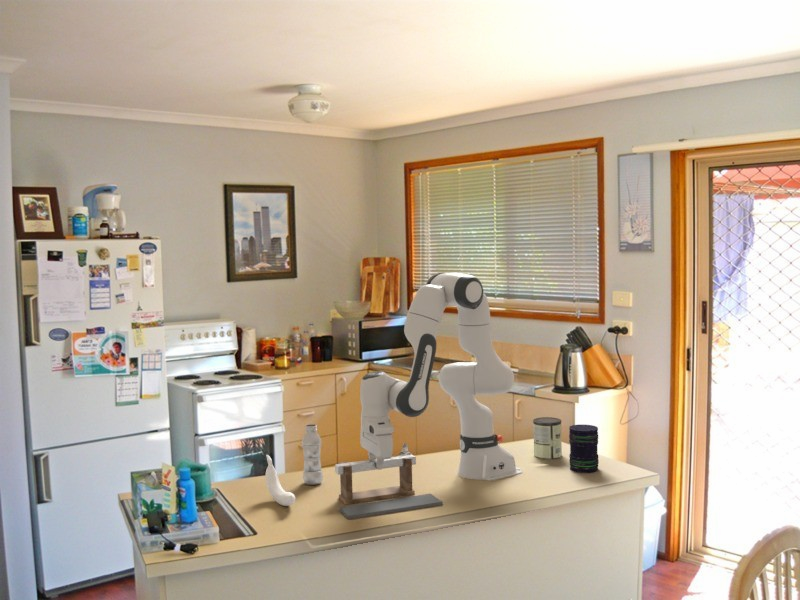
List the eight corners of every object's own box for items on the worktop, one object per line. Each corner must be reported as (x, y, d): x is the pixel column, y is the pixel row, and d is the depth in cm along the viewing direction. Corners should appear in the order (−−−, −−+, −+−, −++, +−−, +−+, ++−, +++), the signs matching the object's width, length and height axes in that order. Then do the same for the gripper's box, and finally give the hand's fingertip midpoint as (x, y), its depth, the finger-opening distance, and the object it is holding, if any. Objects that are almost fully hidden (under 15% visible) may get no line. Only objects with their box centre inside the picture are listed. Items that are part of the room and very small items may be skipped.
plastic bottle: (319, 487, 262) (318, 427, 261) (300, 486, 263) (298, 427, 262) (325, 481, 268) (323, 423, 267) (306, 481, 270) (304, 423, 269)
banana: (288, 514, 236) (287, 465, 235) (261, 499, 251) (259, 453, 250) (303, 510, 238) (301, 462, 238) (275, 496, 254) (273, 450, 253)
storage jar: (588, 465, 281) (587, 423, 280) (604, 471, 272) (604, 428, 271) (563, 468, 278) (563, 426, 277) (579, 475, 269) (579, 431, 268)
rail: (412, 462, 257) (412, 454, 257) (415, 464, 254) (415, 456, 254) (335, 472, 247) (335, 464, 247) (338, 474, 244) (337, 466, 244)
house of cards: (428, 462, 291) (427, 441, 291) (411, 467, 285) (411, 446, 285) (410, 458, 298) (410, 438, 297) (394, 463, 292) (393, 442, 291)
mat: (430, 496, 249) (430, 493, 249) (442, 504, 241) (442, 501, 241) (339, 510, 238) (339, 507, 238) (348, 519, 230) (348, 516, 230)
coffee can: (537, 453, 300) (536, 416, 299) (564, 455, 295) (564, 417, 295) (530, 459, 290) (529, 421, 289) (558, 462, 286) (557, 423, 285)
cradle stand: (406, 488, 258) (405, 453, 258) (414, 494, 252) (413, 458, 251) (338, 498, 250) (337, 462, 249) (345, 504, 243) (344, 467, 243)
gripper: (355, 418, 258) (356, 460, 259) (376, 431, 239) (377, 476, 240) (373, 416, 260) (374, 458, 261) (396, 428, 241) (397, 473, 242)
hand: (376, 466), depth 250 cm, fingers open, 4 cm apart
